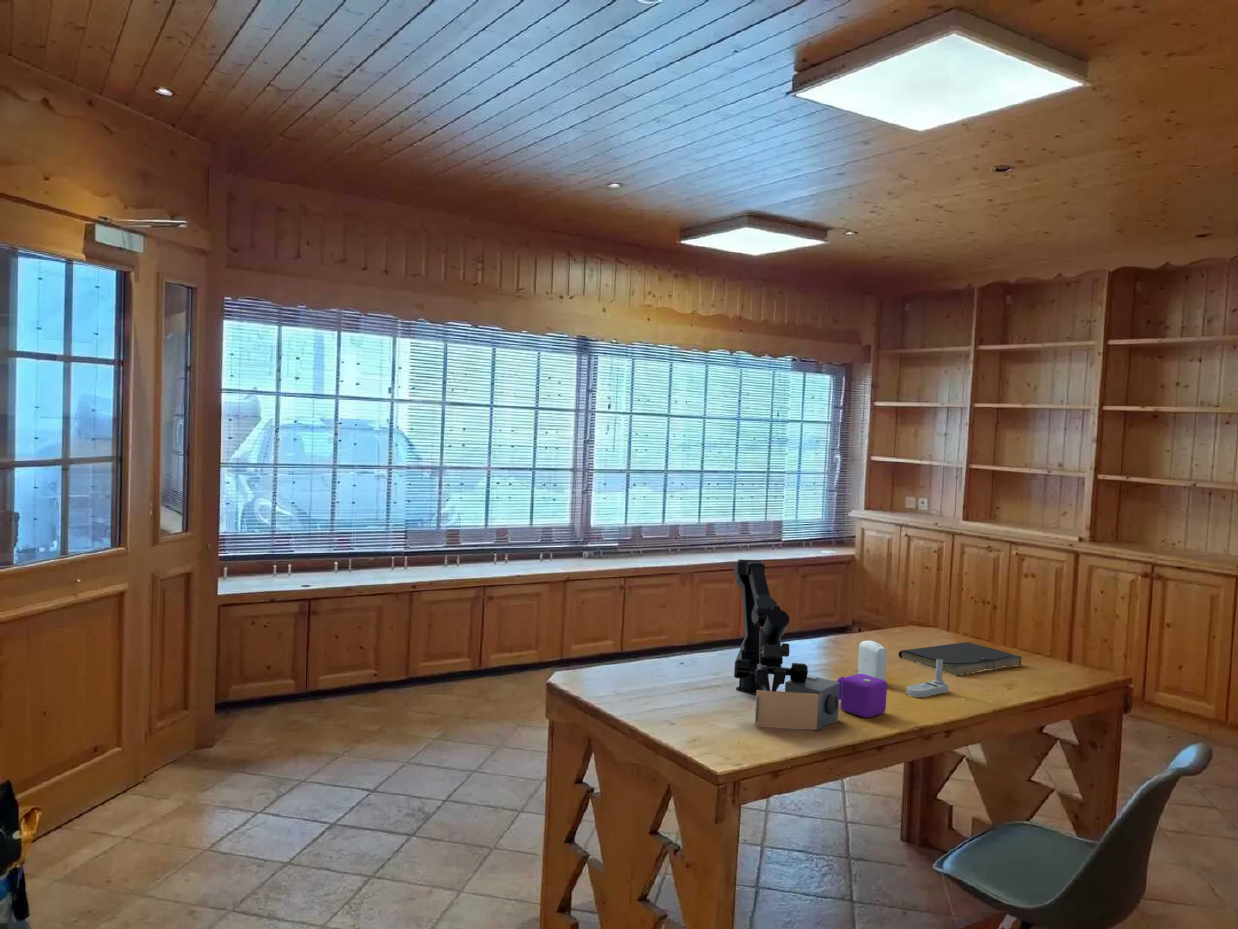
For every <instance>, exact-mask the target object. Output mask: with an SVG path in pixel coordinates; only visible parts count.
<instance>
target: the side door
mask: <svg viewBox="0 0 1238 929" xmlns="http://www.w3.org/2000/svg"><path fill="white" fill-rule="evenodd" d="M822 696H823V695H822V694H811V693H795V692H785V691H779V690H777V691H772V690H770V691H763V690H757V693H756V694H755V698H756V699H755V712H754V713H755V714H754V726H756V727H769V728H780V729H781V728H783V729H800V730H813V731H814V730H815V731H821V730H822V728H821V714H822Z"/></svg>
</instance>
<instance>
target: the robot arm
mask: <svg viewBox="0 0 1238 929" xmlns="http://www.w3.org/2000/svg"><path fill="white" fill-rule="evenodd" d="M765 570H766V564H765V563H764V562H761V561H760V560H759V559H742V558H741V559H737V561H736V562H734V564H733V574H734V575H735V582H736V583H737V585H738V586H739V588H740V589H741V591H742V593H741V594H742V607H743V608H742V609H743V624H744V639H743V641H742V643H741V644H740V649H739V651H738V654H737V656H736V658H735V661H734V668H733V671H734V672H733V677H734V678H735V679H739V682H738V686H736V688H735V689H736V690H738V691H741V692H744V693H749V694H752V695H756V693H757V690H763V691H778V689H779V687H780V685H784V684H785V682H786V681H785V680H786V676H789V677H790V678H789V679H790V680H791V681H793V682H803V683H805V682H806V678H807V675H809V669H808V668H809V667H808V665H807V664H806V663H802V662H801V663H798V662H792V663H791V667H785V666H784V667H782V665H783V662H784V661H783V659H784V658H785V657H786V658H787V657H789V656H790V643H787V642H786V643H784V642H782V637H783V636H784V634H785V632H786V630H787V628H788V625H789V623H790V616H789V614H787V612H786V611H784V610H782V609H781V607H780V605H778V602H777V601H775V600H774V599H773V598H772V597H771V593H770V589H769V585H768V580H767V577H766V573H765V572H766V571H765ZM783 657H784V658H783ZM769 675H773V678H772V685H771V686H770V680H769V679H770V678H769ZM790 680H789V681H790Z"/></svg>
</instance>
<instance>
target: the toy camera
mask: <svg viewBox="0 0 1238 929" xmlns="http://www.w3.org/2000/svg"><path fill="white" fill-rule="evenodd" d="M836 682H839V683H840V691H839V700H840V708H841V710H842V711H845V712H847V713H850V714H854V715H856V716H858V717H859V716H860V717H862V718H866V719H867V718H872V717H875V716H878V715H881V714H883V713H885V712H886V707H887V694H888V693H887V691H888V684H887V681H884V680H882V679H879V678H876V677H872V676H869V675H865V674H858V673H857V674H856V673H855V674H852V675H849V676H846V677H845V676H840V677H839V678H838V679H837V680H836Z"/></svg>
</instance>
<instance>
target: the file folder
mask: <svg viewBox="0 0 1238 929" xmlns="http://www.w3.org/2000/svg"><path fill="white" fill-rule="evenodd" d="M899 657H901V658H900V659H902V658H904V659H903V660H905V659H907V660H906V661H908V660H910V661H909V662H911V661H913V662H912V663H914V662H919V663H921V664H923V665H926V666H929V667H932V668H935V669H936V659H942V660H943V664H942V670H943V671H945V672H948V673H951V674H954V675H960V676H962V675H961V674H967V673H972V672H977V671H980V670H984V669H995V668H998V667H1002V666H1013V665H1021V666H1022V658H1023V656H1019V655H1015V654H1012V653H1010V652H1006V651H1004V650H1003V651H1002V650H999V649H994V648H991V647H988V646H987V647H986V646H984V645H981V644H975V643H973V642H967V641H965V642H964V641H963V642H957V643H950V644H949V643H948V644H942V645H941V644H940V645H934V646H926V647H918V648H912V649H911V648H910V649H903V650H900V651H898V658H899ZM923 665H922V666H923ZM926 666H925V667H926ZM929 667H928V668H929ZM932 668H931V669H932ZM935 669H934V670H935ZM945 672H944V673H945ZM948 673H947V674H948ZM951 674H950V675H951ZM954 675H953V676H954ZM967 675H968V674H967Z"/></svg>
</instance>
